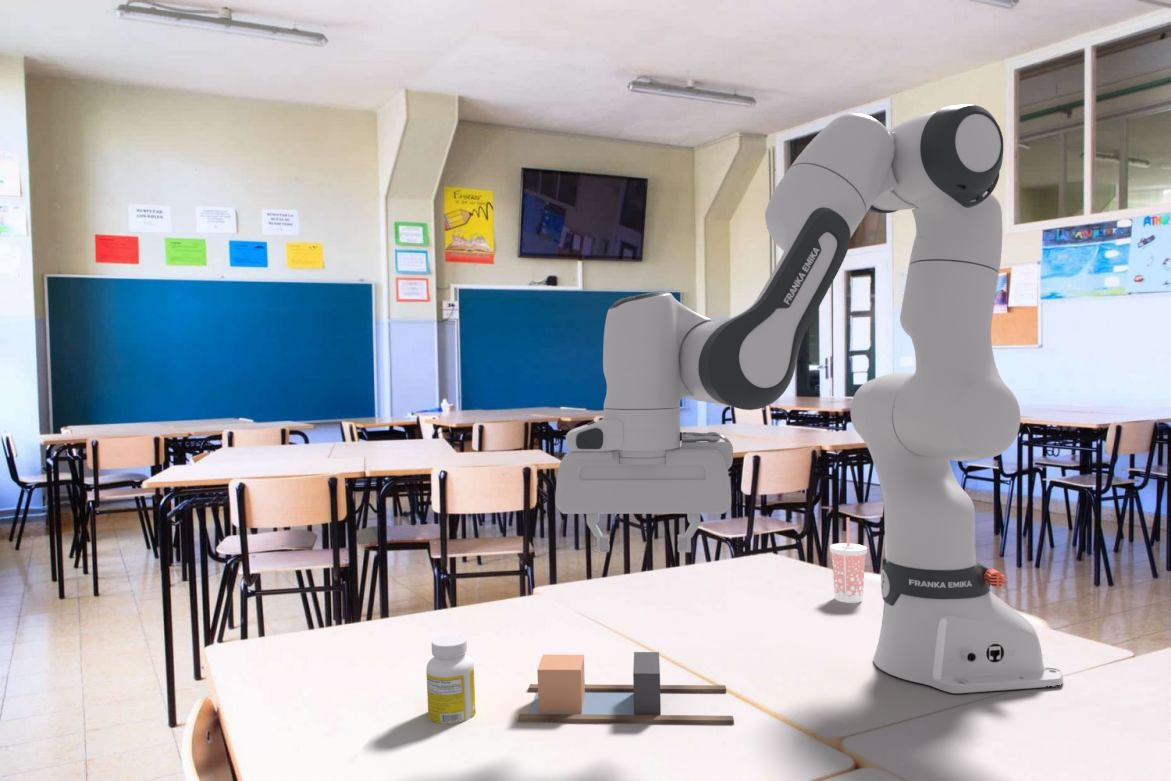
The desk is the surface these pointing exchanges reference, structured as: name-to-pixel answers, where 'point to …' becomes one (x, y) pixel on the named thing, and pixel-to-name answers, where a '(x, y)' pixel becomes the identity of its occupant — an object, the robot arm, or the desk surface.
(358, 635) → the desk surface
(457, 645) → the supplement bottle
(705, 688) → the guide rails
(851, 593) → the beverage cup
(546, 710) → the terracotta cube
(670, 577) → the desk surface
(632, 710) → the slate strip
